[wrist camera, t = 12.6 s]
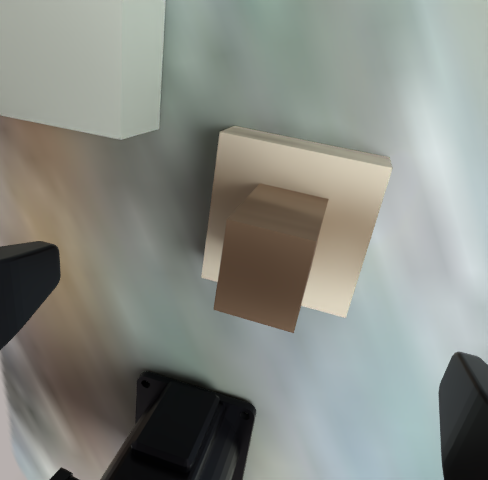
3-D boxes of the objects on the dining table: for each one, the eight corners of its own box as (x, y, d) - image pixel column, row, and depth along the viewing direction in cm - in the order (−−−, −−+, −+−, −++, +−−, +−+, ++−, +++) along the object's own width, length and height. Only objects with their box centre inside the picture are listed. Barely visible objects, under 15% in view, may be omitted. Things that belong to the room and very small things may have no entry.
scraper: (347, 293, 18) (340, 389, 12) (216, 257, 19) (157, 332, 13) (389, 156, 15) (402, 203, 10) (235, 125, 16) (172, 151, 11)
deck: (158, 129, 17) (120, 139, 14) (14, 101, 18) (-46, 106, 16) (169, -78, 14) (124, -114, 11) (-4, -94, 15) (-82, -130, 13)
